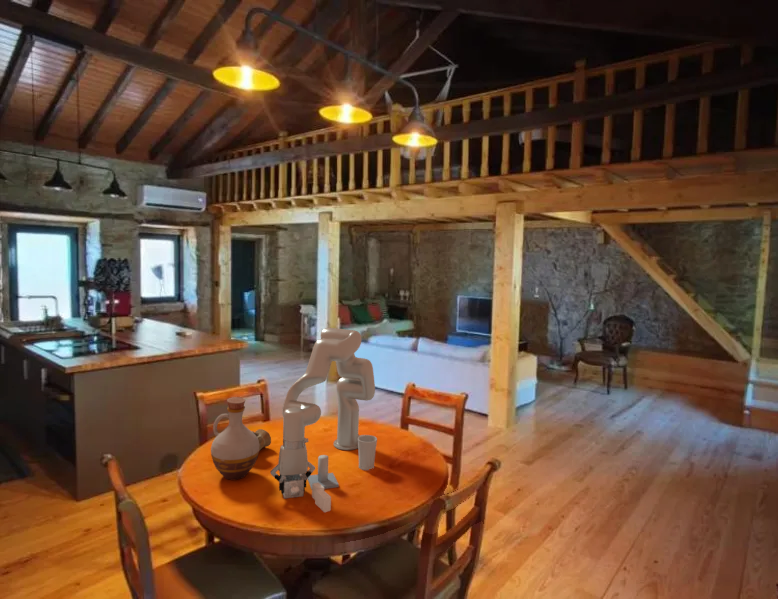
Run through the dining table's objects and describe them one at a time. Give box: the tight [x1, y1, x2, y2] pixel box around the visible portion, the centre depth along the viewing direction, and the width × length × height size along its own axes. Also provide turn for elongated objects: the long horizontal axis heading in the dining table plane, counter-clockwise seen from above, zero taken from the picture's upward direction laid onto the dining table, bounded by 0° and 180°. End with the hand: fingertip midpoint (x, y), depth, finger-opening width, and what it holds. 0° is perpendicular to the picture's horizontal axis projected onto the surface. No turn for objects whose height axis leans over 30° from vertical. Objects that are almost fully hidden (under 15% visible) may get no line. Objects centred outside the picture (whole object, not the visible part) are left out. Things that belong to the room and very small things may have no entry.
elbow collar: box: [282, 474, 305, 499], centre depth 171 cm, size 10×7×6 cm, turn 19°
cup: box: [357, 434, 378, 471], centre depth 196 cm, size 8×8×12 cm
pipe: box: [251, 428, 272, 451], centre depth 205 cm, size 9×16×10 cm, turn 169°
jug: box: [210, 396, 260, 481], centre depth 184 cm, size 20×18×30 cm
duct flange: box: [307, 454, 340, 490], centre depth 181 cm, size 10×10×10 cm
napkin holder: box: [311, 483, 332, 513], centre depth 166 cm, size 15×11×6 cm
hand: (292, 490), depth 173 cm, fingers closed on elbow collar, 6 cm apart
